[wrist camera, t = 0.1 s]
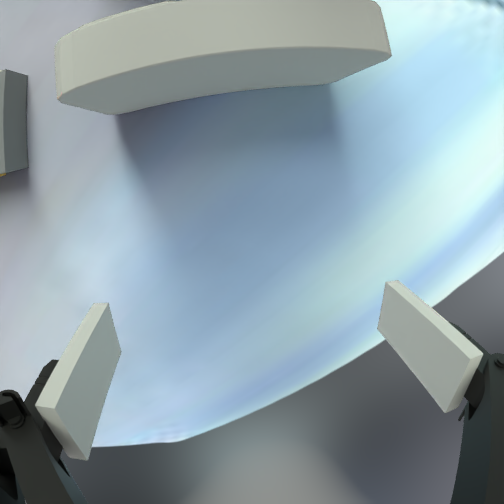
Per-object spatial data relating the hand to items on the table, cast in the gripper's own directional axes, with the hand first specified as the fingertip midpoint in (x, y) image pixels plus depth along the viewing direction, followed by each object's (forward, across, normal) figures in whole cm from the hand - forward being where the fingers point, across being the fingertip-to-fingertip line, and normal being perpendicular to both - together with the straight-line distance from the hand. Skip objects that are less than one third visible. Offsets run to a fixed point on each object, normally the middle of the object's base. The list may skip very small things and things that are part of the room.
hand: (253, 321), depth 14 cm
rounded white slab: (+28, 0, +17) cm, 33 cm away
